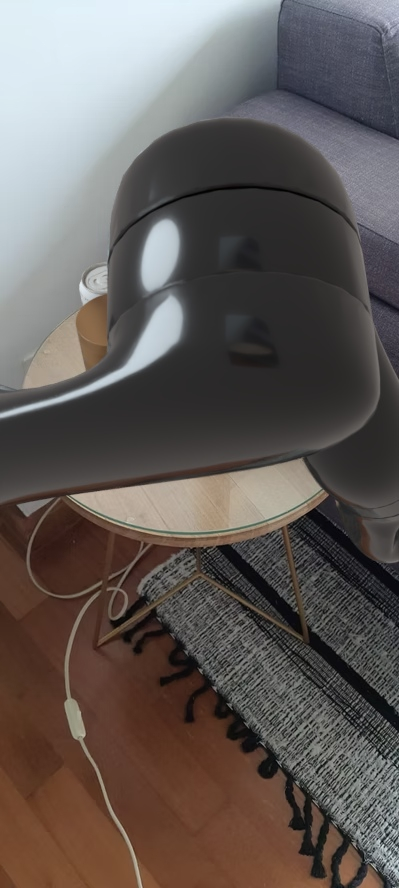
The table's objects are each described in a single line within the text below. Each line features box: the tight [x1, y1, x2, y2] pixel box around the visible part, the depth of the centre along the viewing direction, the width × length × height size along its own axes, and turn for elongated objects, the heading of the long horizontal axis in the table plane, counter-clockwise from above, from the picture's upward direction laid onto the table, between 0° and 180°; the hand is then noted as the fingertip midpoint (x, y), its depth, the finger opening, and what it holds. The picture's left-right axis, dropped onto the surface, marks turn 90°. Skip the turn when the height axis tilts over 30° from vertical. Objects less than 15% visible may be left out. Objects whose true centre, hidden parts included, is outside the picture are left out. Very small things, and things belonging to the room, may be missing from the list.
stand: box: [75, 294, 108, 371], centre depth 74 cm, size 8×8×18 cm
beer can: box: [78, 261, 107, 307], centre depth 81 cm, size 6×6×15 cm
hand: (224, 250), depth 70 cm, fingers open, 8 cm apart
